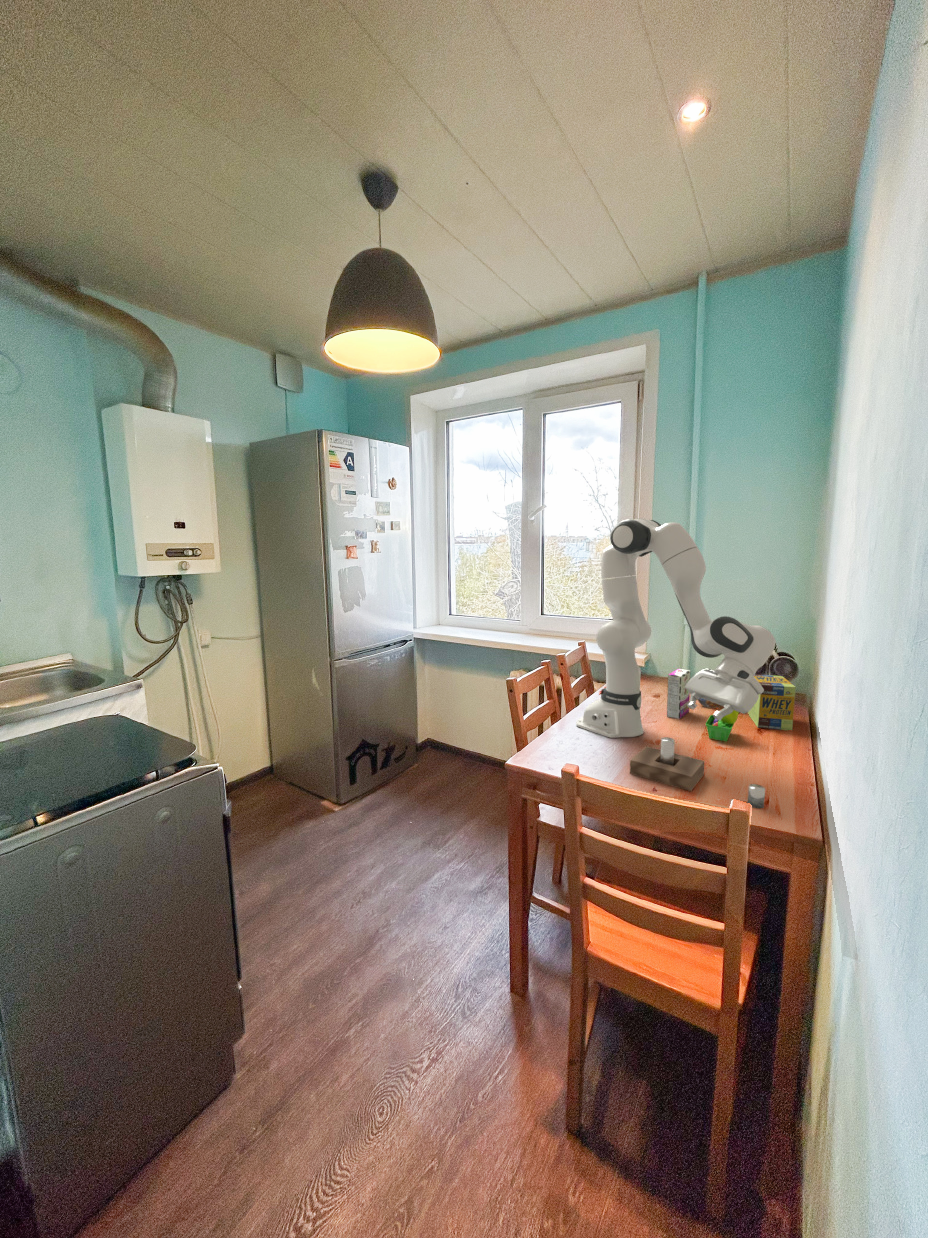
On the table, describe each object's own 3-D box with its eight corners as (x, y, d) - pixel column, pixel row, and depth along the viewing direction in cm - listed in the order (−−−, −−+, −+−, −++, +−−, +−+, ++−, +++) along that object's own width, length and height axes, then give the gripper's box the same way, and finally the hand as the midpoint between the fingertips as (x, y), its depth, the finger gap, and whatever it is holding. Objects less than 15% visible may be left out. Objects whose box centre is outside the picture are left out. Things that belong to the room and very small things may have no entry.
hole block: (629, 773, 134) (630, 759, 133) (645, 759, 142) (646, 746, 142) (690, 791, 123) (691, 776, 123) (703, 774, 132) (704, 760, 132)
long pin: (658, 774, 133) (659, 740, 131) (662, 770, 135) (663, 736, 134) (670, 778, 130) (672, 743, 129) (674, 773, 133) (676, 739, 132)
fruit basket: (709, 728, 166) (711, 696, 164) (739, 733, 161) (741, 701, 159) (704, 739, 157) (705, 705, 155) (734, 745, 152) (737, 710, 150)
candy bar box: (675, 709, 186) (677, 668, 184) (689, 712, 183) (691, 670, 180) (665, 717, 178) (667, 674, 175) (679, 719, 174) (681, 676, 172)
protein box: (757, 728, 165) (760, 684, 163) (747, 713, 180) (749, 673, 177) (793, 731, 162) (796, 686, 160) (779, 716, 176) (782, 675, 174)
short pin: (746, 805, 116) (747, 788, 115) (749, 799, 119) (750, 782, 118) (762, 810, 114) (763, 792, 113) (765, 804, 116) (766, 787, 116)
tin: (696, 706, 189) (697, 685, 188) (697, 704, 192) (698, 683, 191) (740, 712, 181) (741, 691, 180) (741, 710, 183) (742, 689, 182)
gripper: (698, 660, 144) (670, 695, 143) (758, 677, 125) (726, 717, 124) (709, 673, 146) (681, 708, 145) (769, 692, 127) (738, 732, 125)
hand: (702, 712), depth 134 cm, fingers open, 8 cm apart
